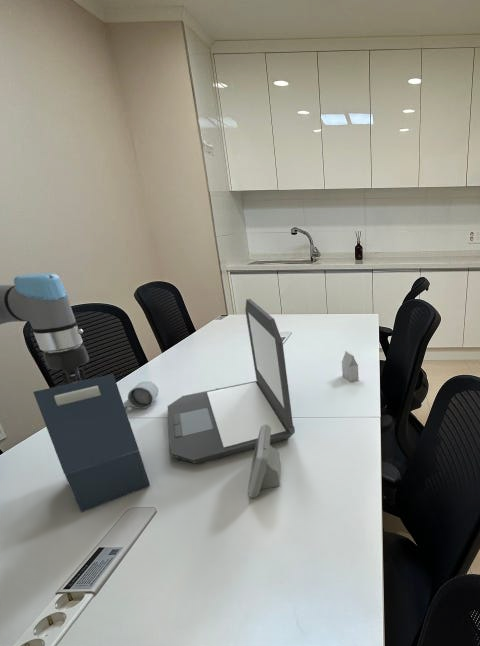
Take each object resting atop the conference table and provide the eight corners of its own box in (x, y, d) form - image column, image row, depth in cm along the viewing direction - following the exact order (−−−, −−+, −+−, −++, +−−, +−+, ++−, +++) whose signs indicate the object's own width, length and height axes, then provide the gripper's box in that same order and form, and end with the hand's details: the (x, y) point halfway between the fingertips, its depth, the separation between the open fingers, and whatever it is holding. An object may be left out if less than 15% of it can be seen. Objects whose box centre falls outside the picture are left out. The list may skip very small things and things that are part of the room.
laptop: (168, 405, 131) (142, 307, 118) (261, 385, 144) (247, 295, 131) (174, 473, 96) (137, 345, 83) (295, 439, 109) (281, 324, 96)
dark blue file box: (75, 475, 97) (61, 442, 93) (137, 455, 104) (127, 423, 100) (80, 512, 85) (65, 475, 80) (150, 485, 92) (139, 451, 88)
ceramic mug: (162, 397, 137) (156, 377, 134) (155, 407, 130) (149, 386, 127) (129, 401, 135) (122, 381, 132) (121, 411, 128) (114, 390, 125)
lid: (33, 391, 77) (27, 393, 70) (113, 373, 85) (115, 374, 78) (64, 473, 81) (61, 483, 73) (138, 449, 88) (142, 455, 81)
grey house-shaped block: (349, 381, 146) (348, 356, 142) (342, 375, 151) (341, 351, 147) (358, 379, 147) (357, 355, 143) (351, 373, 153) (349, 349, 149)
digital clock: (255, 458, 101) (249, 423, 97) (289, 457, 101) (284, 422, 97) (235, 500, 87) (226, 461, 82) (275, 499, 87) (268, 460, 82)
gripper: (87, 354, 79) (121, 449, 88) (80, 334, 93) (110, 419, 102) (41, 363, 75) (81, 462, 84) (41, 341, 89) (75, 428, 98)
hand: (97, 438), depth 93 cm, fingers closed on pill bottle, 6 cm apart
